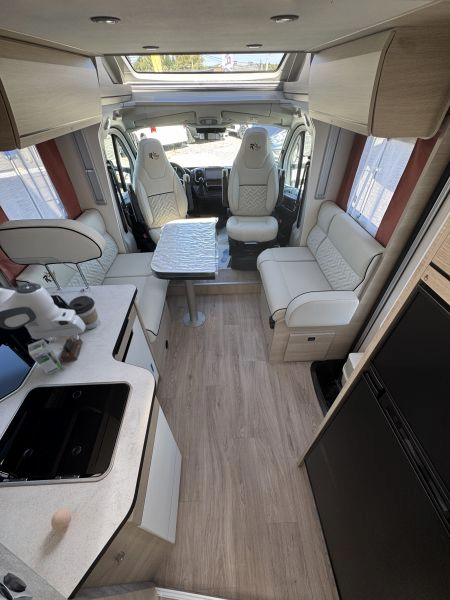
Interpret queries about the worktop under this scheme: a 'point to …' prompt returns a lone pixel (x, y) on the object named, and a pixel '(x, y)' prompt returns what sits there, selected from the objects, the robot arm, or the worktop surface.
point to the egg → (61, 519)
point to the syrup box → (44, 356)
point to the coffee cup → (85, 311)
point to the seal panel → (72, 351)
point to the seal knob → (68, 345)
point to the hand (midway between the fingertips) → (65, 340)
